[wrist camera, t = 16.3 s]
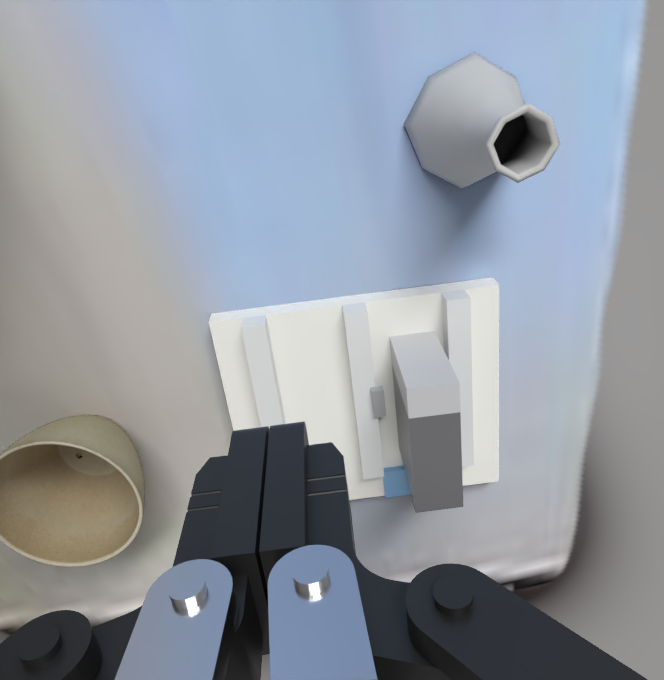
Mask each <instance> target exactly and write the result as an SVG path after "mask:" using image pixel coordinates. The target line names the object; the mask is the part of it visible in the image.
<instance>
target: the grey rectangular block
mask: <svg viewBox="0 0 664 680" xmlns="http://www.w3.org/2000/svg"><path fill="white" fill-rule="evenodd" d="M390 347H391V359H392V371H393V383H394V395H395V407H396V418H397V430H398V442H399V449H400V453H401V457H402V461H403V465H404V469H405V473H406V477H407V481H408V485H409V489H410V493H411V496H412V500H413V504H414V508H415V512H416V513H417V512H425V511H433V510H441V509H449V508H456V507H463V483H462V449H461V415H460V382H459V380H458V378H457V376H456V374H455V372H454V370H453V368H452V366H451V364H450V362H449V360H448V358H447V356H446V354H445V352H444V350H443V348H442V346H441V344H440V342H439V340H438V338H437V336H436V334H435V332H434V331H430V332H422V333H414V334H406V335H398V336H390Z"/></svg>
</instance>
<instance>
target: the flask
mask: <svg viewBox="0 0 664 680" xmlns="http://www.w3.org/2000/svg"><path fill="white" fill-rule="evenodd" d="M404 125H405V128H406V130H407V133H408V135H409V137H410V140H411V142H412V144H413V147H414V149H415V152H416V154H417V156H418V159H419V161H420V164H421V166H422V168H423V169H425V170H427V171H429V172H431V173H432V174H434V175H436V176H438V177H440V178H442V179H444V180H446V181H447V182H449V183H451V184H453V185H455V186H457V187H459V188H461V189H463V188H465V187H467V186H469V185H471V184H473V183H475V182H477V181H479V180H481V179H483V178H485V177H487V176H489V175H491V174H493V173H495V172H499V173H501V174H503V175H505V176H506V177H508V178H510V179H512V180H514V181H515V182H518V183H519V182H521V181H523V180H525V179H527V178H529V177H531V176H533V175H535V174H537V173H539V172H541V171H543V170H544V169H545V168H546V166H547V165H548V163H549V161H550V160H551V158H552V157H553V155H554V153H555V152H556V150H557V149H558V147H559V145H560V142H559V138H558V135H557V132H556V129H555V126H554V122H553V119H552V117H550V116H549V115H547V114H545V113H544V112H542V111H540V110H538V109H537V108H535V107H533V106H532V105H530V104H528V103H526V104H525V103H524V100H523V97H522V94H521V91H520V88H519V85H518V82H517V79H516V77H515V76H513V75H512V74H510V73H508V72H507V71H505V70H503V69H502V68H500V67H498V66H497V65H495V64H493V63H492V62H490V61H488V60H487V59H485V58H483V57H482V56H480V55H478V54H477V53H475V52H474V53H472V54H470V55H469V56H467V57H465V58H463V59H461V60H459V61H457V62H455V63H453V64H452V65H450V66H448V67H446V68H444V69H442V70H440V71H438V72H436V73H435V74H433V75H431V76H429V77H428V78H427V80H426V82H425V84H424V86H423V88H422V90H421V92H420V94H419V96H418V98H417V100H416V102H415V103H414V105H413V107H412V109H411V111H410V113H409V115H408V117H407V119H406V121H405V123H404Z"/></svg>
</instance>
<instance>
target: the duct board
mask: <svg viewBox="0 0 664 680" xmlns="http://www.w3.org/2000/svg"><path fill="white" fill-rule="evenodd" d="M209 325H210V330H211V334H212V339H213V343H214V347H215V352H216V356H217V361H218V365H219V369H220V374H221V378H222V383H223V387H224V391H225V396H226V400H227V405H228V409H229V413H230V418H231V422H232V427H233V431H235V430H242V429H250V428H258V427H266V426H268V427H269V429H270V426H273V425H281V424H288V423H296V422H305V425H306V429H307V435H308V442H309V445H313V444H321V443H329V442H332V443H333V444H334V445H335V447H336V448H337V449H338V450H339V451H340V453H341V454H342V455H343V457H344V464H345V471H346V479H347V486H348V494H349V500H354V499H362V498H370V497H378V496H385V498H389V497H397V496H405V495H411V493H410V489H409V485H408V481H407V477H406V473H405V469H404V465H403V461H402V457H401V453H400V449H399V442H398V430H397V418H396V407H395V395H394V383H393V371H392V359H391V347H390V336H398V335H406V334H414V333H422V332H430V331H434V332H435V334H436V336H437V338H438V340H439V342H440V344H441V346H442V348H443V350H444V352H445V354H446V356H447V358H448V360H449V362H450V364H451V366H452V368H453V370H454V372H455V374H456V376H457V378H458V380H459V382H460V415H461V449H462V483H463V486H465V485H473V484H481V483H489V482H497V481H499V284H498V283H497V282H496V281H495V280H494V279H493V278H492V277H491V278H484V279H476V280H468V281H460V282H453V283H445V284H437V285H429V286H421V287H414V288H406V289H398V290H390V291H383V292H375V293H367V294H359V295H352V296H344V297H336V298H328V299H321V300H313V301H305V302H297V303H290V304H282V305H274V306H266V307H258V308H251V309H243V310H235V311H227V312H220V313H212V315H211V317H210V320H209Z"/></svg>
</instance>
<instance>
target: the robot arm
mask: <svg viewBox="0 0 664 680" xmlns="http://www.w3.org/2000/svg"><path fill="white" fill-rule="evenodd" d="M191 494H192V497H190V501H189V505H188V512H187V513H186V517H185V521H184V525H183V529H182V532H181V536H180V540H179V544H178V548H177V552H176V556H175V560H174V564H173V567H172V568H170V569H169V570H168V571H166V572H165V573H163V574H162V575H161V576H160V577H159V578H158V579H157V580H156V581H155V582H154V583H153V585H152V586H151V587H150V589H149V591H148V593H147V595H146V597H145V600H144V603H143V605H142V606H141V607H139V608H138V609H136V610H134V611H132V612H130V613H128V614H125V615H123V616H120V617H118V618H115V619H113V620H110V621H108V622H105V623H103V624H100V625H98V626H95V627H93V628H92V627H91V625H90V623H89V621H88V619H87V618H86V617H85V616H84V615H82V614H81V613H79V612H76V611H70V610H61V611H55V612H50V613H47V614H45V615H42V616H40V617H37V618H35V619H33V620H32V621H30V622H28V623H27V624H25V625H24V626H22V627H21V628H20V629H18V630H17V631H16V632H14V633H13V634H12V635H11V636H9V637H8V638H7V639H6V640H4V641H3V642H2V643H1V644H0V680H260V678H261V662H262V655H265V654H270V677H271V678H270V679H271V680H647V679H646V678H644V677H643V676H641V675H640V674H638V673H636V672H635V671H633V670H632V669H630V668H629V667H627V666H625V665H624V664H623V663H621V662H619V661H618V660H616V659H615V658H613V657H612V656H610V655H609V654H607V653H605V652H604V651H602V650H601V649H599V648H598V647H596V646H595V645H593V644H592V643H590V642H588V641H587V640H585V639H584V638H582V637H581V636H579V635H578V634H576V633H574V632H573V631H571V630H570V629H568V628H567V627H565V626H564V625H562V624H561V623H559V622H558V621H556V620H554V619H553V618H551V617H550V616H548V615H547V614H545V613H544V612H542V611H540V610H539V609H537V608H536V607H534V606H533V605H531V604H530V603H528V602H527V601H525V600H524V599H522V598H520V597H519V596H517V595H516V594H514V593H513V592H511V591H510V590H508V589H506V588H505V587H503V586H502V585H500V584H499V583H497V582H496V581H494V580H493V579H491V578H489V577H488V576H486V575H485V574H483V573H482V572H480V571H478V570H476V569H474V568H471V567H469V566H465V565H460V564H441V565H436V566H433V567H430V568H428V569H426V570H424V571H422V572H421V573H419V574H418V575H417V576H416V577H415V578H414V579H413V580H412V582H411V583H406V582H400V581H394V580H389V579H385V578H382V577H379V576H377V575H375V574H373V573H371V572H370V571H369V570H367V569H366V568H365V567H364V566H363V565H362V564H361V563H360V562H359V560H358V559H357V557H356V552H355V543H354V534H353V525H352V516H351V508H350V501H349V494H348V486H347V479H346V471H345V464H344V457H343V455H342V454H341V453H340V451H339V450H338V449H337V448H336V447H335V445H334V444H333V443H332V442H329V443H321V444H313V445H309V442H308V435H307V429H306V425H305V422H296V423H288V424H281V425H273V426H270V429H269V427H268V426H266V427H258V428H250V429H242V430H235V431H233V433H232V437H231V442H230V448H229V453H228V456H220V457H212V458H210V459H209V460H208V461H207V462H206V463H205V465H204V466H203V467H202V468H201V470H200V471H199V472H198V473H197V474H196V477H195V481H194V485H193V489H192V493H191Z"/></svg>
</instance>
